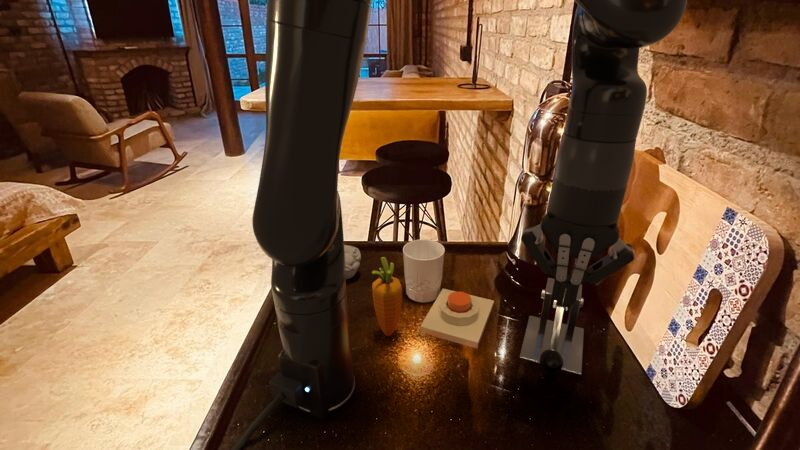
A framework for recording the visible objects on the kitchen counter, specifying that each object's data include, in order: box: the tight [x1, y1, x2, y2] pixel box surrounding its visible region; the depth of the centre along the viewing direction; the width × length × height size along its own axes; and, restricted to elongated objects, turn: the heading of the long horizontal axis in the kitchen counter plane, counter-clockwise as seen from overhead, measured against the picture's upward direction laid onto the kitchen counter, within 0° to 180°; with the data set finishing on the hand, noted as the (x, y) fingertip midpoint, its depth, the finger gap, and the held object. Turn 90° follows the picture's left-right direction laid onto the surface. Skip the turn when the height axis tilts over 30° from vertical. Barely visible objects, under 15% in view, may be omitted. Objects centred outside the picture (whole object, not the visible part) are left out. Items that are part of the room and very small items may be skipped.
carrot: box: [371, 256, 403, 337], centre depth 67 cm, size 5×5×15 cm
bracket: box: [518, 277, 585, 376], centre depth 64 cm, size 11×9×12 cm
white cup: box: [402, 238, 446, 304], centre depth 79 cm, size 8×8×10 cm
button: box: [448, 291, 471, 313], centre depth 71 cm, size 4×4×2 cm
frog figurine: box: [344, 244, 362, 280], centre depth 85 cm, size 6×7×7 cm
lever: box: [539, 300, 570, 374], centre depth 60 cm, size 13×3×3 cm
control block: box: [419, 288, 495, 349], centre depth 72 cm, size 12×10×4 cm
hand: (562, 302), depth 52 cm, fingers closed
